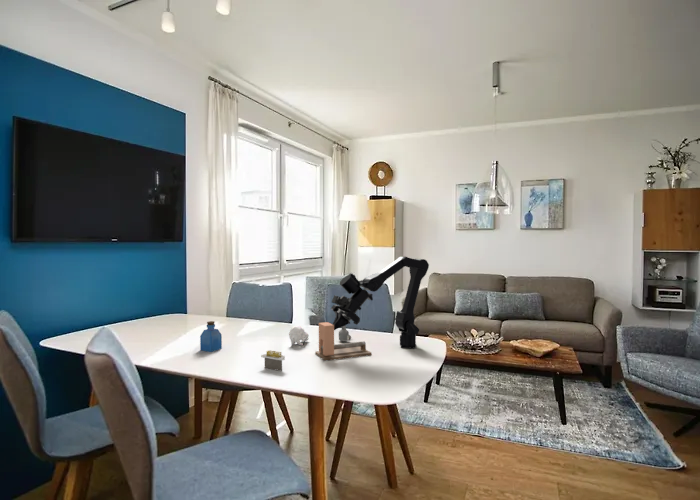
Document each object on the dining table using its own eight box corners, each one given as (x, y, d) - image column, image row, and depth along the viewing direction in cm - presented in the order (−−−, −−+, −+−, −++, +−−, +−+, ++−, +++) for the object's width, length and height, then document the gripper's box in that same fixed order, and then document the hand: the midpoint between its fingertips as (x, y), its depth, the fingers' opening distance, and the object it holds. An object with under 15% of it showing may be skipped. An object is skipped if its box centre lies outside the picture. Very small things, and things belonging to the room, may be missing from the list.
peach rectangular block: (327, 350, 175) (327, 322, 175) (334, 354, 168) (334, 325, 168) (318, 351, 173) (318, 322, 173) (324, 355, 167) (324, 326, 167)
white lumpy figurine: (288, 326, 189) (301, 323, 200) (287, 345, 189) (300, 341, 200) (300, 327, 187) (312, 324, 198) (299, 346, 186) (312, 343, 197)
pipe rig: (360, 348, 183) (360, 337, 183) (371, 355, 173) (371, 343, 173) (315, 353, 175) (315, 342, 175) (324, 360, 165) (324, 348, 165)
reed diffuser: (344, 344, 192) (344, 300, 191) (330, 342, 195) (330, 299, 194) (353, 339, 201) (353, 297, 200) (340, 337, 204) (340, 296, 203)
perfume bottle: (200, 350, 181) (200, 322, 181) (211, 347, 187) (211, 320, 187) (210, 352, 179) (210, 323, 178) (221, 348, 184) (221, 321, 184)
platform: (266, 362, 165) (265, 345, 165) (304, 368, 156) (304, 351, 156) (244, 370, 154) (244, 352, 154) (284, 378, 146) (284, 359, 146)
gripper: (335, 286, 182) (310, 313, 178) (352, 290, 165) (326, 321, 161) (351, 303, 185) (328, 330, 181) (370, 309, 168) (345, 339, 164)
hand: (331, 329), depth 172 cm, fingers closed, pressing on peach rectangular block
